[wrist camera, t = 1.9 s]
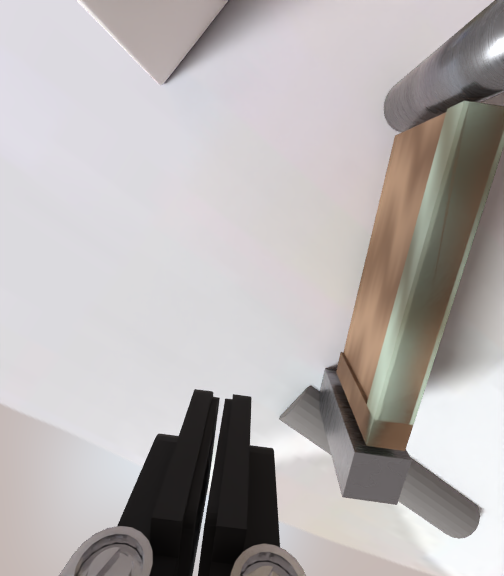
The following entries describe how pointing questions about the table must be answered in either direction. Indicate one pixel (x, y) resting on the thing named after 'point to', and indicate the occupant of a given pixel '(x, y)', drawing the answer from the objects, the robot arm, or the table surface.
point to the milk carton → (155, 28)
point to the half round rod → (418, 484)
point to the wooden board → (416, 265)
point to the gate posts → (403, 116)
